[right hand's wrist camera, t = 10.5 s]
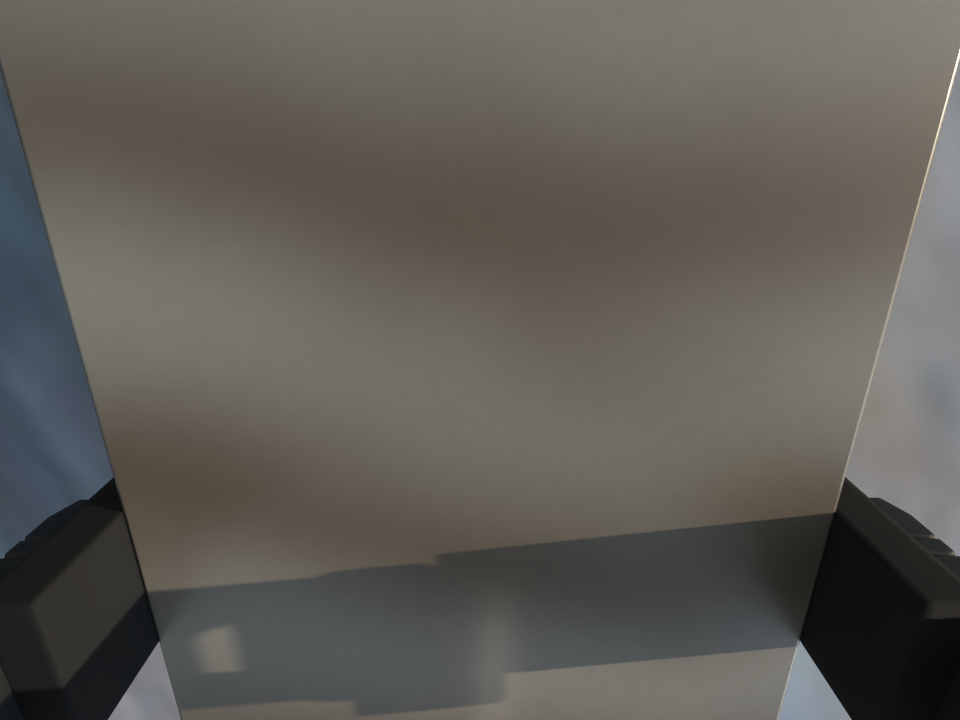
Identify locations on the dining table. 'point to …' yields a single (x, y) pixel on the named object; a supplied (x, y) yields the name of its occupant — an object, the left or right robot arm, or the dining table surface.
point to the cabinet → (479, 330)
